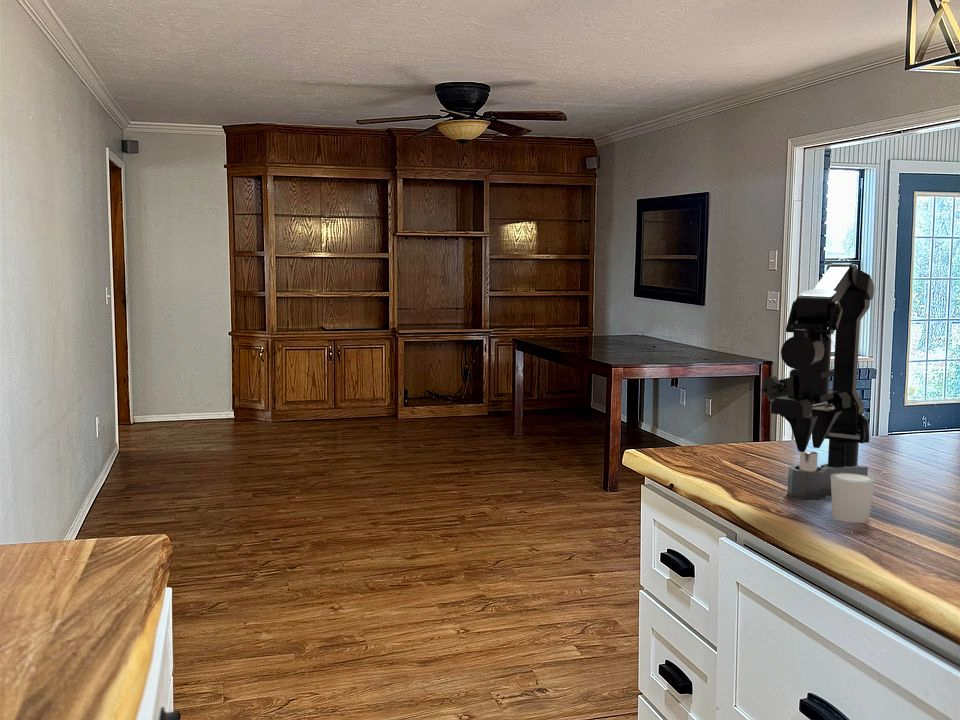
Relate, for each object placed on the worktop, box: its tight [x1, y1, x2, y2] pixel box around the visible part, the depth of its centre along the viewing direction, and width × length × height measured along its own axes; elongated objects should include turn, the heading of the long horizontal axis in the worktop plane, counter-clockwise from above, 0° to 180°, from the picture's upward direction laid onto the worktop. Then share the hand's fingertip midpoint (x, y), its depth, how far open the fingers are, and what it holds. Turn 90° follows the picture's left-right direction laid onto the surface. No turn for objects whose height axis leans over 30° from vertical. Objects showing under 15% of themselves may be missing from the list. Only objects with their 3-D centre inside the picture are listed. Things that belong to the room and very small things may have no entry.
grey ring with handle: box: [787, 464, 869, 501], centre depth 163 cm, size 14×13×5 cm
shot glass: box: [830, 473, 876, 524], centre depth 146 cm, size 7×7×7 cm
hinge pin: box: [798, 450, 819, 472], centre depth 160 cm, size 3×3×8 cm
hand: (808, 449), depth 159 cm, fingers open, 5 cm apart
